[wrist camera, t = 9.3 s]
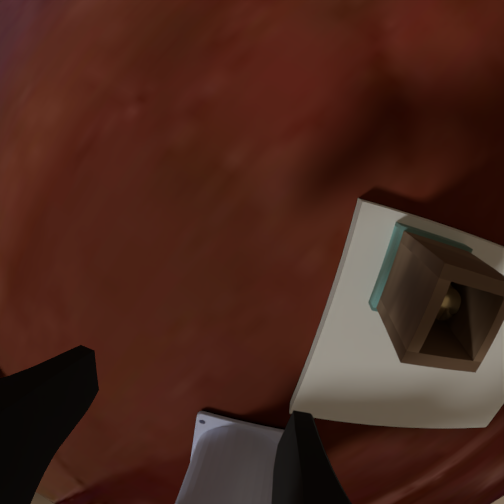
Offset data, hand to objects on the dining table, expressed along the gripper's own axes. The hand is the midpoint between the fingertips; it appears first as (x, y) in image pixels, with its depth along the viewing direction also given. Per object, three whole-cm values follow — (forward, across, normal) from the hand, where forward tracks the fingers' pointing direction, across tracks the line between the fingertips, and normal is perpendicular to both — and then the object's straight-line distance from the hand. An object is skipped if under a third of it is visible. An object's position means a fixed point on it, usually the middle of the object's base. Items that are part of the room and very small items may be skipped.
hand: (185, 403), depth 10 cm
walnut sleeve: (+9, -10, -4) cm, 14 cm away
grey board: (+10, -15, 0) cm, 18 cm away
